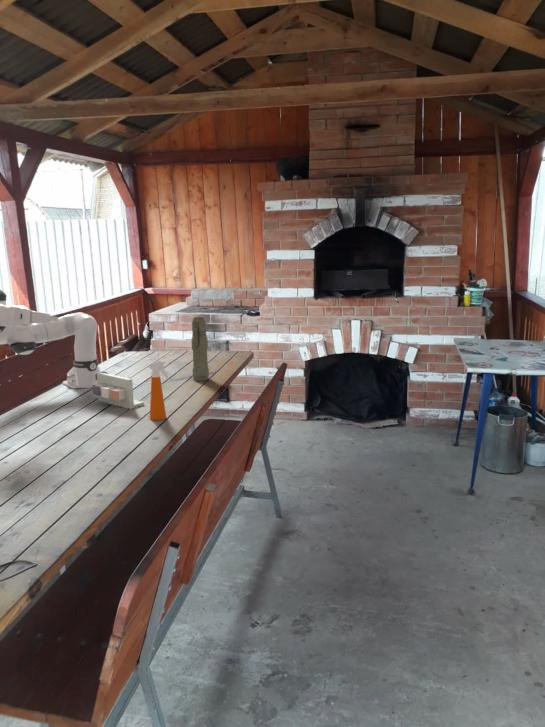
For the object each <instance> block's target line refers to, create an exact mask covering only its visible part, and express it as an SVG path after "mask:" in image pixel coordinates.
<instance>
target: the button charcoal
mask: <svg viewBox="0 0 545 727" xmlns="http://www.w3.org/2000/svg"><path fill="white" fill-rule="evenodd" d="M101 387H107V384H104V383H101V384H97V385H92V387H91V389H93V390H92V396H93V395H97V396H100V395H102V390H101Z"/></svg>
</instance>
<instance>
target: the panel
mask: <svg viewBox="0 0 545 727" xmlns="http://www.w3.org/2000/svg"><path fill="white" fill-rule="evenodd" d="M102 372H103V371H100V372H98V373H97V384H101V383H104V384H107V386H111V385H112V386H116V389H118V388H125V389H126V398H125V399H121V400H119V401H116V400H112V399H111V397H110V398H104V397H102V395H100V396H98V397H97V398H98V401H99V400H100V401H99V402H102V401H104V402H103V403H106V402H107V404H109V403H111V404H110V405H113V404H114V405H113V406H117V405H118V406H117V407H120V406H121V407H120V408H124V407H125V408H124V409H128V408H129V410H133V409H136V408H139V407H138V406H140V407H142V405H143V406H145V401H142V400H136V399H135V398H134V388H133V387H134V386H133V379H132V378H129V377H124V376H119V375H114V374H110V373H108V374H106V373H102ZM135 407H136V408H135ZM132 408H133V409H132Z"/></svg>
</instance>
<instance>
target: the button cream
mask: <svg viewBox="0 0 545 727" xmlns="http://www.w3.org/2000/svg"><path fill="white" fill-rule="evenodd" d="M114 389H116V386H112V385H111V386H107V387H101V390H102V397H104V398H110V397H111V390H114Z"/></svg>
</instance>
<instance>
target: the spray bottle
mask: <svg viewBox="0 0 545 727" xmlns="http://www.w3.org/2000/svg"><path fill="white" fill-rule="evenodd" d="M165 364H166V361H165V360H159V361H158V360H157V361H156V362H153V363H151V364H150V365H149V366H148V368H149V369H151V379H150V381H151V382H150V405H149V406H150V407H149V418H150V419H149V420H151V421H162V420H165V419H166V418H167V413H166V408H165V406H166V405H165V401H164V400H165V399H164V393H163V387H162V381H161V380H162V379H161V373H162V375H163V376H164V377H165V378H166V379H167V380H169V379H170V378H169V376H168V375H167V372H166V370H165Z"/></svg>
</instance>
